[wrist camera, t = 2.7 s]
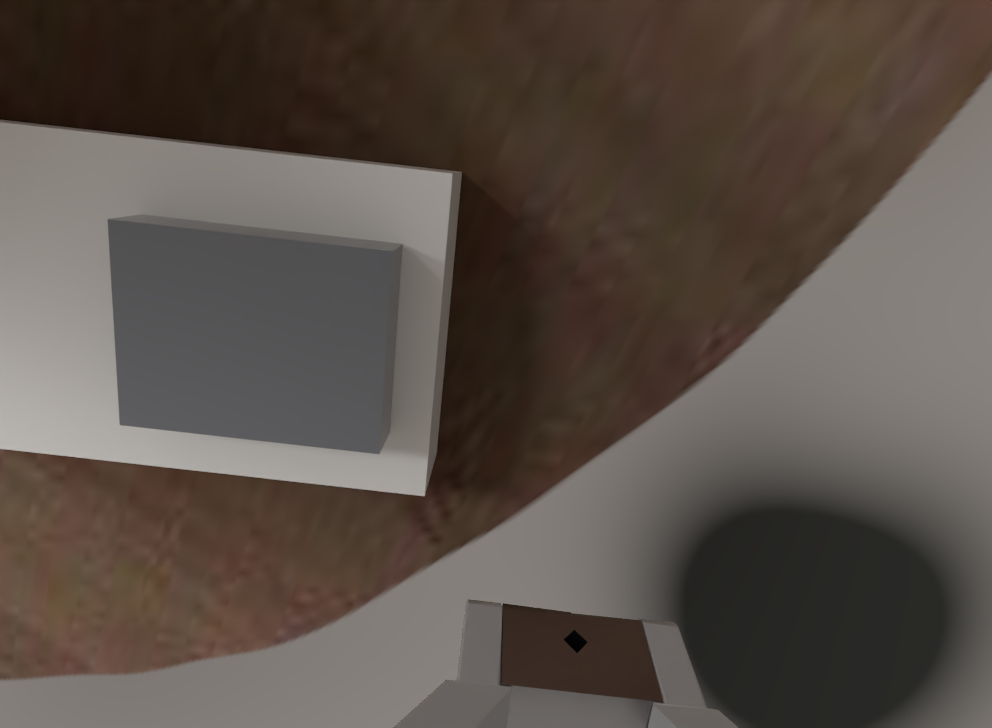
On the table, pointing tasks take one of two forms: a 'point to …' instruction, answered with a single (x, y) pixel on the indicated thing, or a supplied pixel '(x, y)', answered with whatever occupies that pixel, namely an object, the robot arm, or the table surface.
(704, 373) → the table surface
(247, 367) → the gray flat block
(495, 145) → the table surface
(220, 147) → the block
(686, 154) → the table surface
